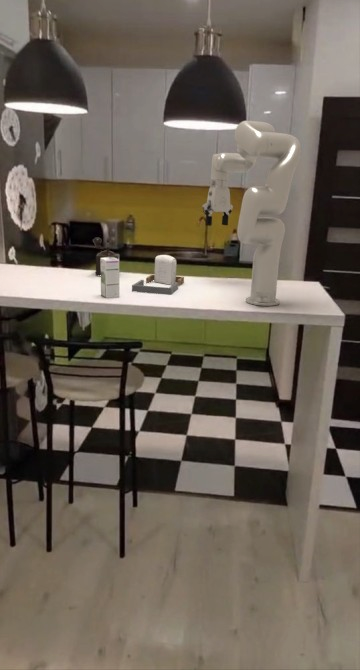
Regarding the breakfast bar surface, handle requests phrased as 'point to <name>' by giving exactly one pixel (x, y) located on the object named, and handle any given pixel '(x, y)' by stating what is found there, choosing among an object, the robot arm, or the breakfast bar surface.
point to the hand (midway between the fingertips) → (216, 225)
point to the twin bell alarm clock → (102, 254)
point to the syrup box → (109, 277)
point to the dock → (178, 279)
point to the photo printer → (165, 269)
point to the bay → (154, 288)
